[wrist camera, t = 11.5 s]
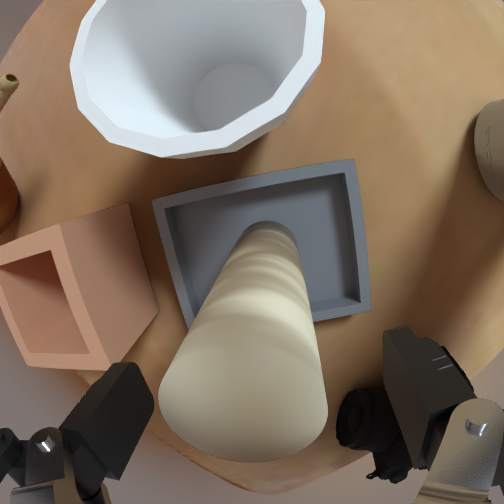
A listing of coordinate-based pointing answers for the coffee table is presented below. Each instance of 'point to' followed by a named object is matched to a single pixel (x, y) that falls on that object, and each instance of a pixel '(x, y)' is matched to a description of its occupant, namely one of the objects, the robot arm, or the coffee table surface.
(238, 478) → the coffee table surface
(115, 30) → the foam cup
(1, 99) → the smoking pipe
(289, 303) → the maple dowel
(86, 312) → the deep box
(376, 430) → the film camera
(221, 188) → the tray
